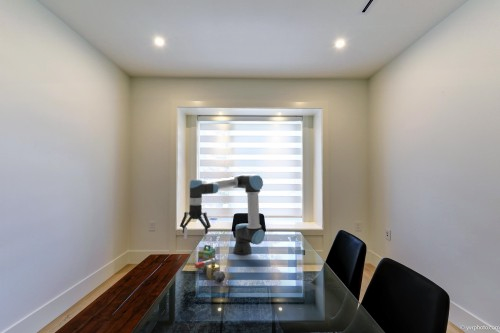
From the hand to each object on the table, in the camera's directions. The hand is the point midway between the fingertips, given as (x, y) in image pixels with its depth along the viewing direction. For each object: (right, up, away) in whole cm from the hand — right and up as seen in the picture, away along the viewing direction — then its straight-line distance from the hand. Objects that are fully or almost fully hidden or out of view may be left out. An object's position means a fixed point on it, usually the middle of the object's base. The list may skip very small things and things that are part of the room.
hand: (195, 238), depth 140 cm
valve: (+11, -25, +1) cm, 27 cm away
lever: (+7, -16, -2) cm, 17 cm away
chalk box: (+4, -25, +16) cm, 30 cm away
